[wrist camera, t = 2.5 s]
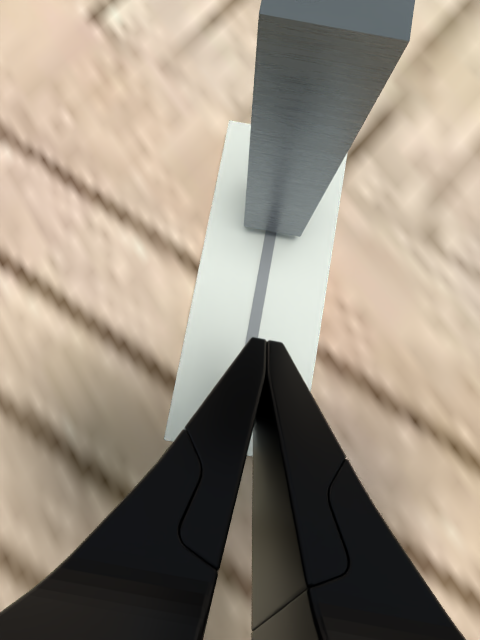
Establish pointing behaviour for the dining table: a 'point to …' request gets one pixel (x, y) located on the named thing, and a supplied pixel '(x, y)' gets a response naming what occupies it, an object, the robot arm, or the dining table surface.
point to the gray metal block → (314, 98)
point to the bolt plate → (252, 285)
